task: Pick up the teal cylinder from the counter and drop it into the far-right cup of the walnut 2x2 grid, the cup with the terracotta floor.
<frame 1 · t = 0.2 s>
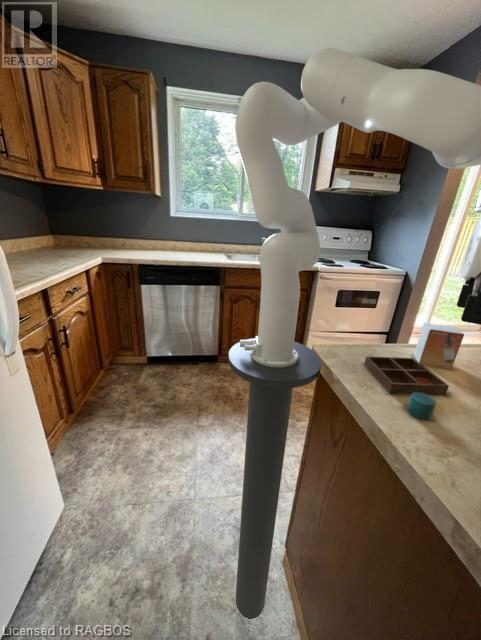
hand: (470, 314, 44), 22 cm above the countertop, tool pointing down, fingers open, 9 cm apart
grid: (401, 378, 67), on the countertop
teal cylinder: (418, 413, 55), on the countertop
small box: (431, 363, 76), on the countertop
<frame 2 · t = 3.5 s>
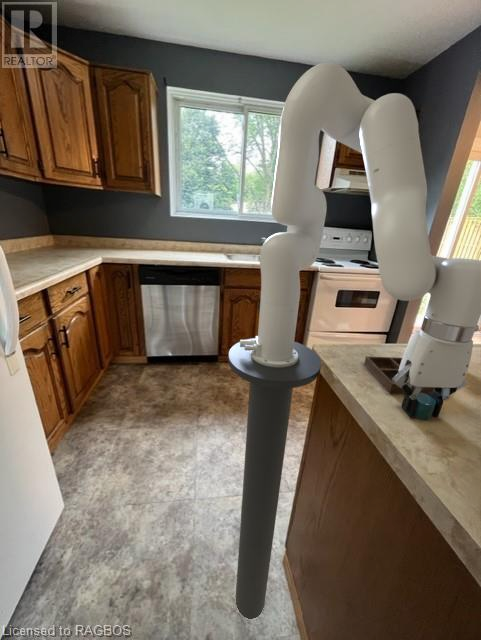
hand: (419, 411, 55), 0 cm above the countertop, tool pointing down, fingers closed on teal cylinder, 4 cm apart
teal cylinder: (418, 413, 55), on the countertop, touching gripper
everything else where it was.
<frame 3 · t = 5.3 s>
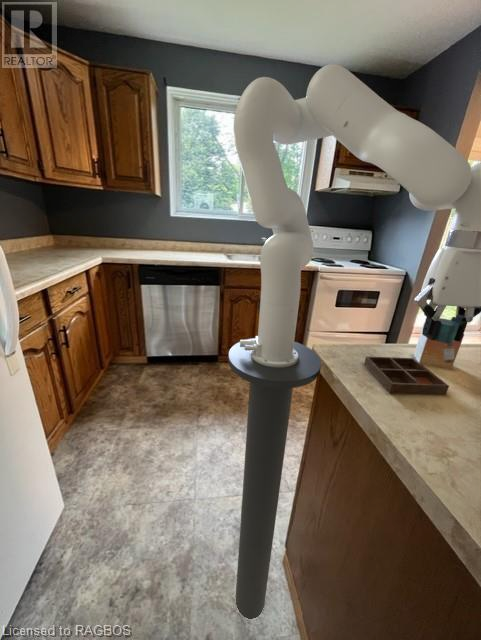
hand: (440, 337, 53), 15 cm above the countertop, tool pointing down, fingers closed on teal cylinder, 4 cm apart
teal cylinder: (440, 338, 54), point 15 cm above the countertop, touching gripper
everything else where it was.
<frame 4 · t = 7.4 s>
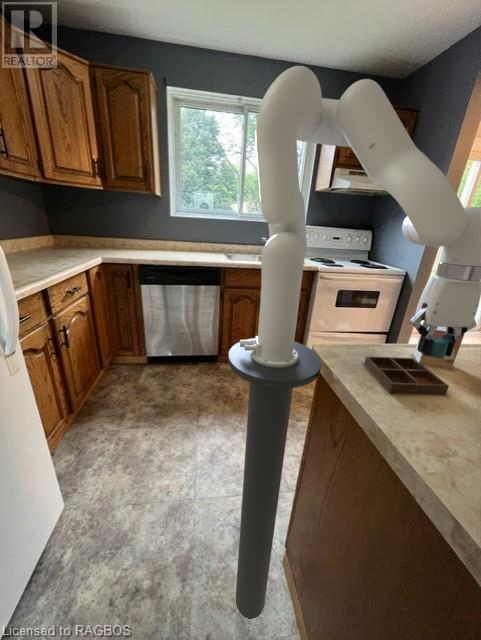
hand: (433, 352, 61), 9 cm above the countertop, tool pointing down, fingers closed on teal cylinder, 4 cm apart
teal cylinder: (433, 353, 61), point 9 cm above the countertop, touching gripper
everything else where it was.
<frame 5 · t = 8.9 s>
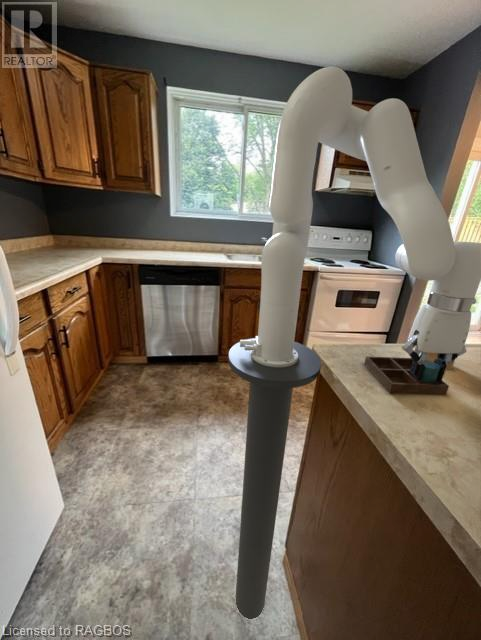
hand: (425, 376, 63), 3 cm above the countertop, tool pointing down, fingers closed on teal cylinder, 4 cm apart
teal cylinder: (425, 377, 64), point 2 cm above the countertop, touching gripper
everything else where it was.
when the fingers open (3 cm above the countertop, at t = 11.8 s): teal cylinder drops 2 cm, resting on grid.
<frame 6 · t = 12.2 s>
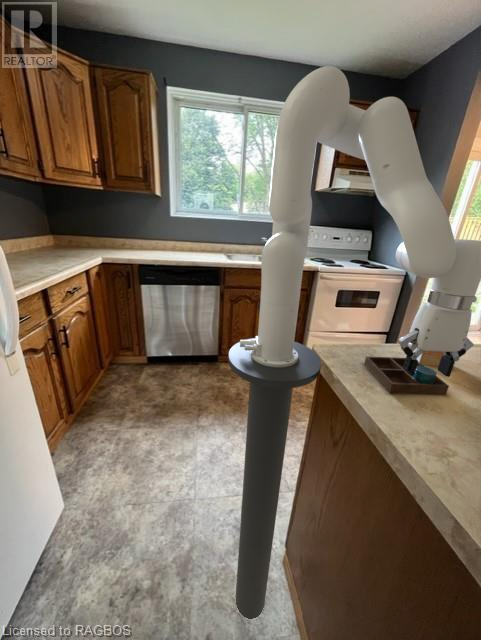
hand: (425, 372, 63), 4 cm above the countertop, tool pointing down, fingers open, 7 cm apart
teal cylinder: (421, 383, 64), point 1 cm above the countertop, touching grid
everything else where it was.
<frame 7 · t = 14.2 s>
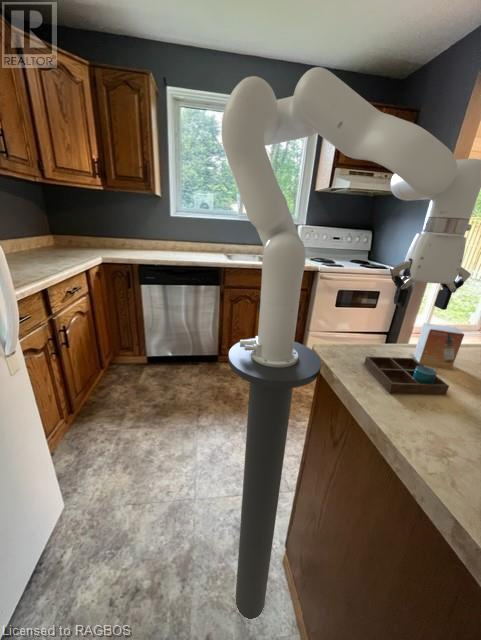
hand: (419, 306, 62), 18 cm above the countertop, tool pointing down, fingers open, 9 cm apart
nothing on the countertop moved.
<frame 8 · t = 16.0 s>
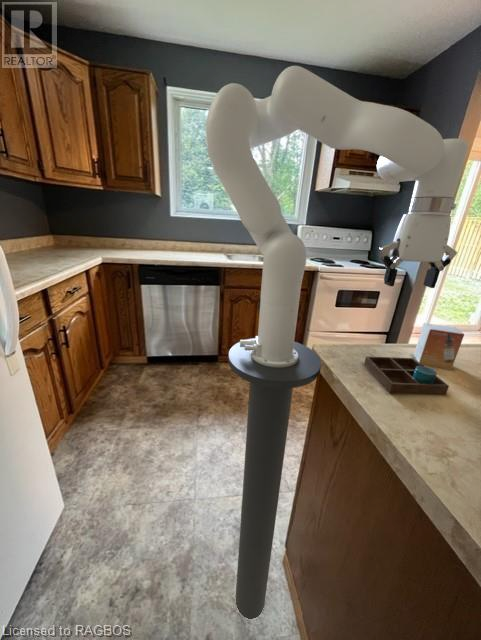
hand: (408, 285, 64), 22 cm above the countertop, tool pointing down, fingers open, 9 cm apart
nothing on the countertop moved.
at the end: teal cylinder 0.1 cm from the target spot in the grid, point 0.7 cm above the grid's base; teal cylinder tilted 0°; the gripper is holding nothing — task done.
